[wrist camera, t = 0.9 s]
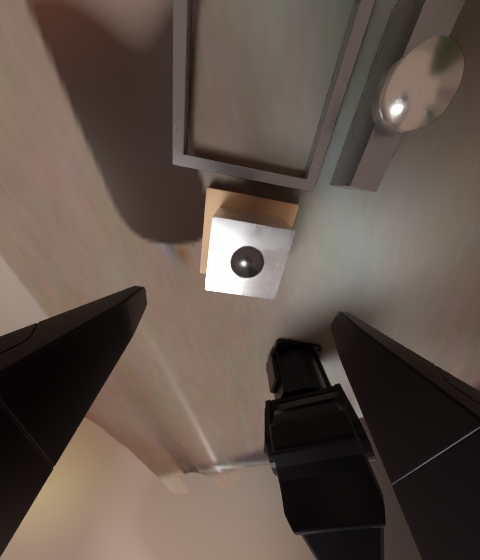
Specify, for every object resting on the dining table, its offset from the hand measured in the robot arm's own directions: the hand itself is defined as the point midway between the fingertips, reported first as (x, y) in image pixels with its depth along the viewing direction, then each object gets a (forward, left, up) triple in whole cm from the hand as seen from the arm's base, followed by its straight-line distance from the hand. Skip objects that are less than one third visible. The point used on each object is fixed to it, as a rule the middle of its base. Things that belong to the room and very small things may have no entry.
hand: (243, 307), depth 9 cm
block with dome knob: (0, 0, -10) cm, 10 cm away
